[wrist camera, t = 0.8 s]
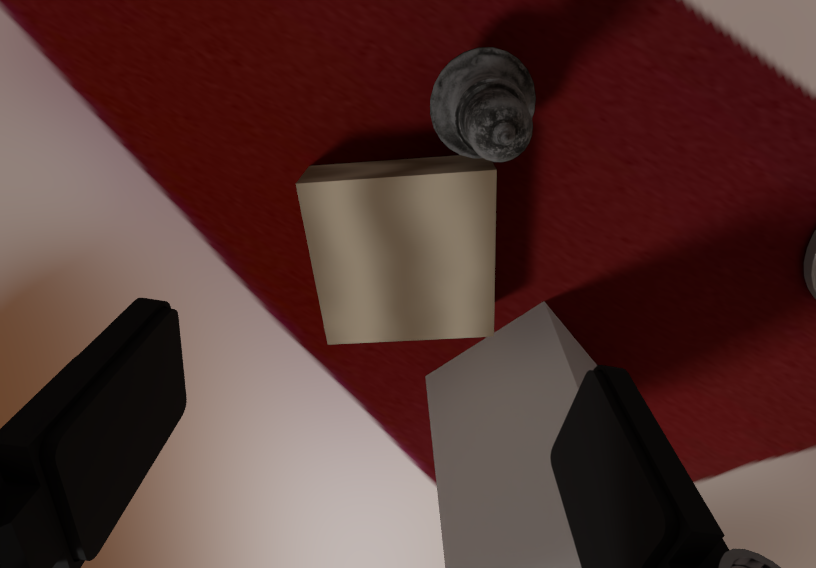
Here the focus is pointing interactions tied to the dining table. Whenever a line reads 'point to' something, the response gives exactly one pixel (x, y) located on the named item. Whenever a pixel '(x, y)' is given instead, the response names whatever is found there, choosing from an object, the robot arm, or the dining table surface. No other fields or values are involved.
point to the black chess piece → (484, 105)
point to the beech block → (402, 247)
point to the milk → (505, 445)
